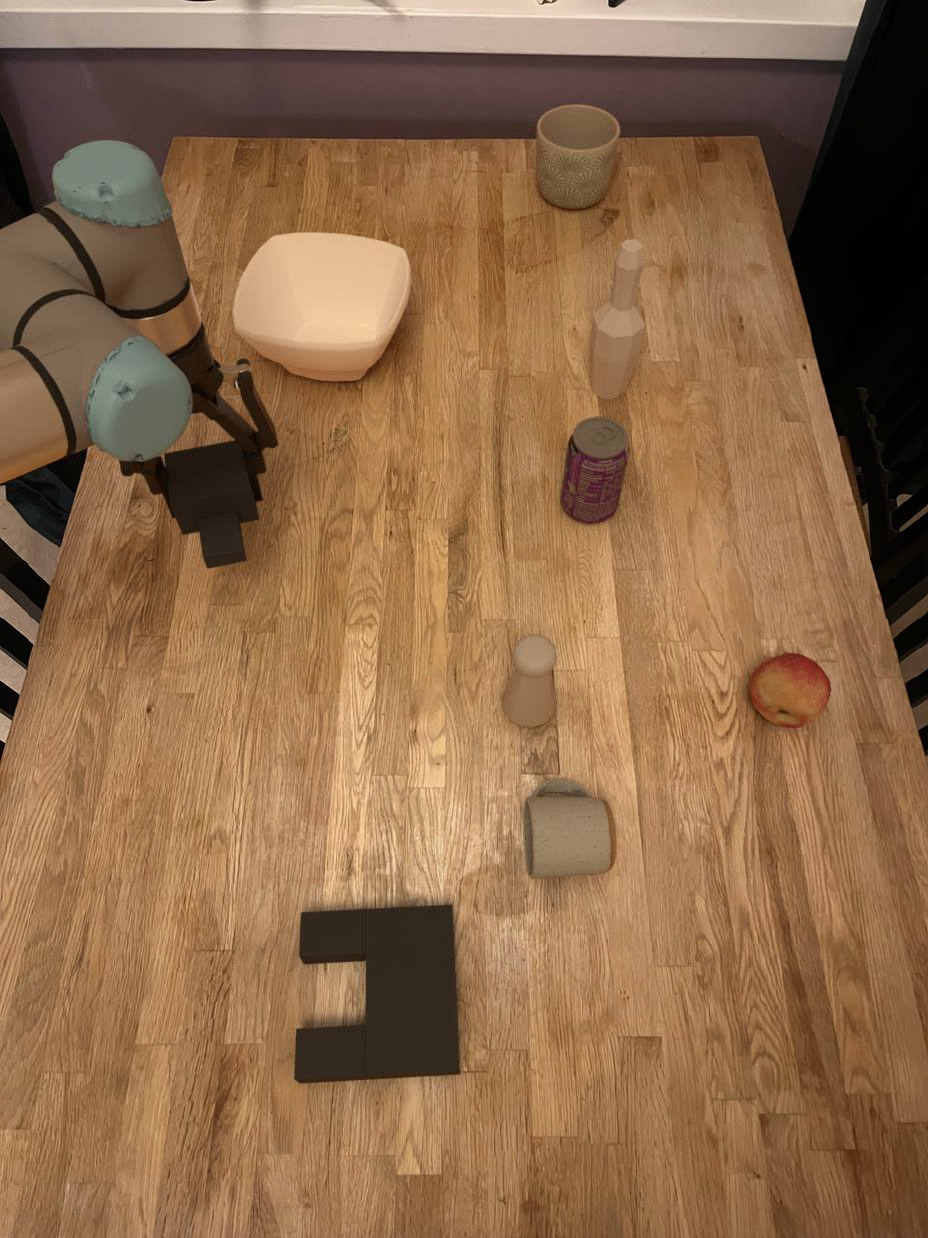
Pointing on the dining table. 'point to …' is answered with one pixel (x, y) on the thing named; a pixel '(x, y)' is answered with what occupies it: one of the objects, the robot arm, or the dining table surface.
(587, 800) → the ceramic mug
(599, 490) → the beverage can
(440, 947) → the dark u-shaped block
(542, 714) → the salt shaker
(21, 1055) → the dining table surface
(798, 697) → the fruit
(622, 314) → the low poly bottle
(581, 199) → the planter
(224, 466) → the tab pad
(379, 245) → the bowl
